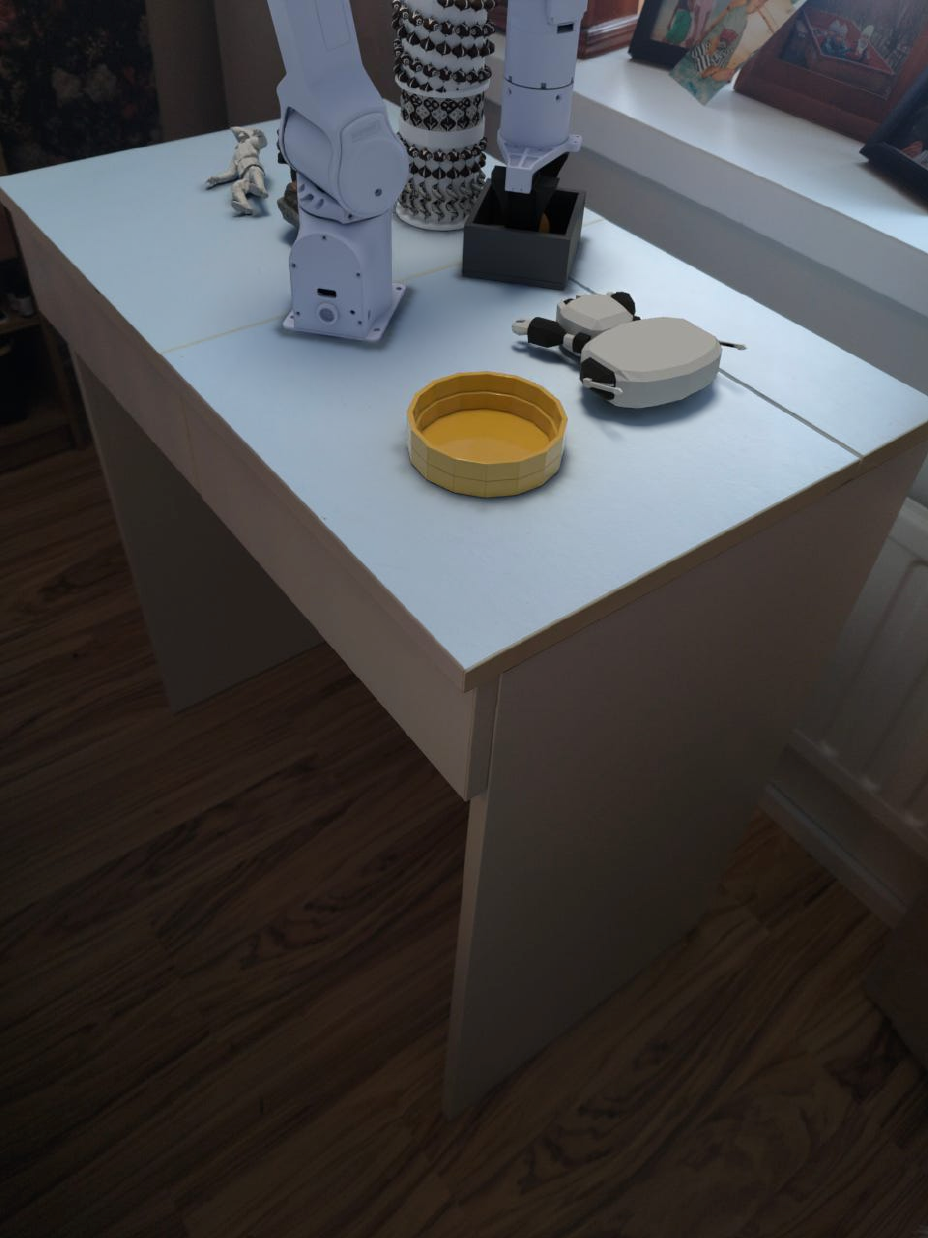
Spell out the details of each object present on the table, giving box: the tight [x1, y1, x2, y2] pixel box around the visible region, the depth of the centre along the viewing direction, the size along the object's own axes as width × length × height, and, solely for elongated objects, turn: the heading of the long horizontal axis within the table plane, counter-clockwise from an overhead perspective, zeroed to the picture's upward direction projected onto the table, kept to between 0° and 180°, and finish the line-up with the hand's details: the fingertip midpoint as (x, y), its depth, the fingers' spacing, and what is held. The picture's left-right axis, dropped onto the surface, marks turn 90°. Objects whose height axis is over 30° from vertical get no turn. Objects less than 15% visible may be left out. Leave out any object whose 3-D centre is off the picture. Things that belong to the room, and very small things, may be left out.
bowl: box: [406, 370, 569, 499], centre depth 70 cm, size 11×11×3 cm
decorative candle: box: [390, 0, 500, 232], centre depth 89 cm, size 9×9×25 cm
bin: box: [461, 177, 587, 291], centre depth 90 cm, size 10×9×5 cm
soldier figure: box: [204, 126, 269, 215], centre depth 98 cm, size 8×5×12 cm
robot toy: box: [511, 290, 748, 409], centre depth 78 cm, size 12×4×15 cm
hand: (524, 240), depth 91 cm, fingers closed on teddy, 4 cm apart
